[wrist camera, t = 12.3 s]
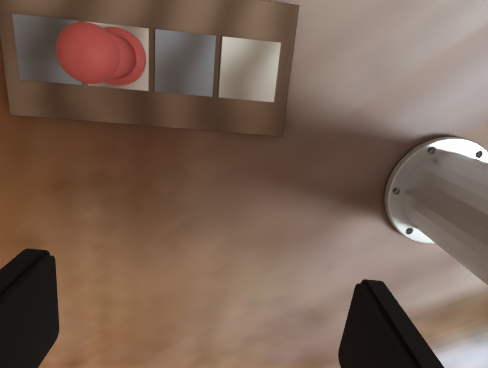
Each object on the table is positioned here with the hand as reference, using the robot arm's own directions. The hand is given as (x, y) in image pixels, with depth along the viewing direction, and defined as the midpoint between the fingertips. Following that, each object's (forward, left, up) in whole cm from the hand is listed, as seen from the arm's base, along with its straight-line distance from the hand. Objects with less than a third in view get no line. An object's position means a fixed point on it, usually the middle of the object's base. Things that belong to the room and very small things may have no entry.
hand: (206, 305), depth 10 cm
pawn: (+9, -7, -25) cm, 27 cm away
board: (+6, -7, -26) cm, 28 cm away
